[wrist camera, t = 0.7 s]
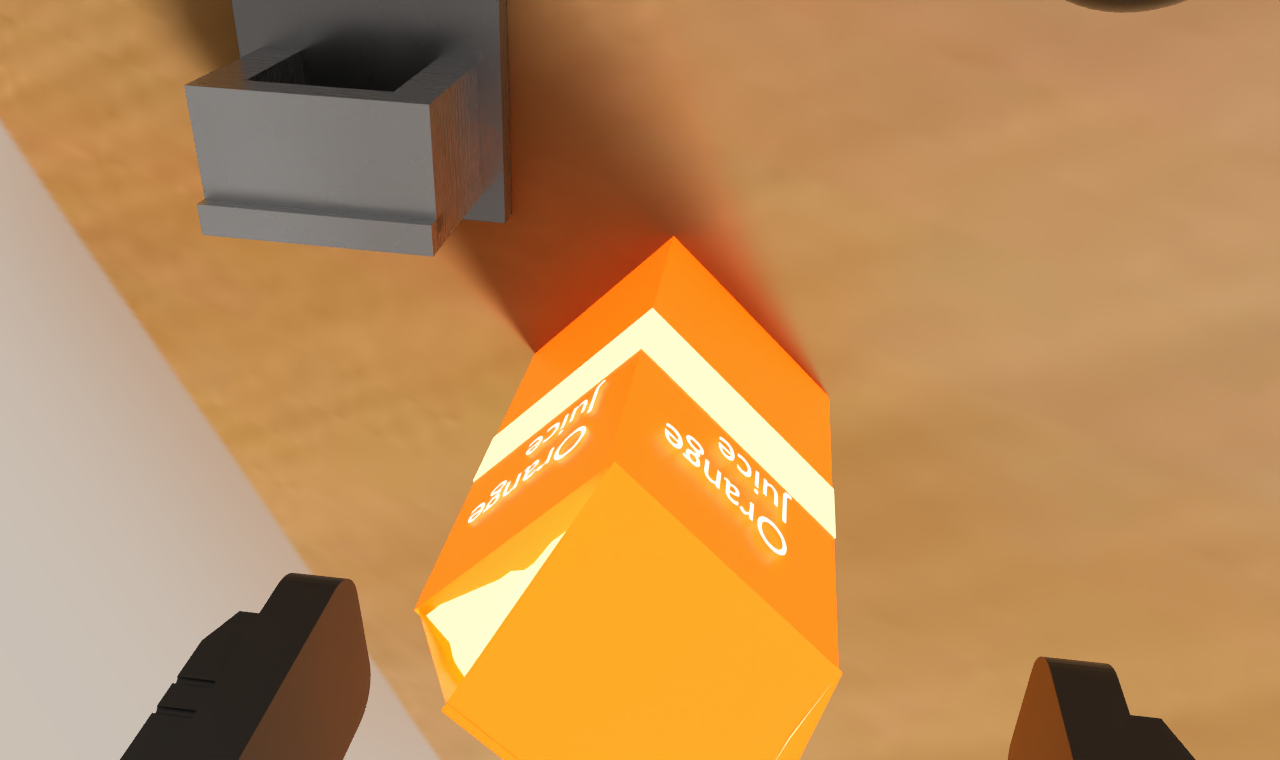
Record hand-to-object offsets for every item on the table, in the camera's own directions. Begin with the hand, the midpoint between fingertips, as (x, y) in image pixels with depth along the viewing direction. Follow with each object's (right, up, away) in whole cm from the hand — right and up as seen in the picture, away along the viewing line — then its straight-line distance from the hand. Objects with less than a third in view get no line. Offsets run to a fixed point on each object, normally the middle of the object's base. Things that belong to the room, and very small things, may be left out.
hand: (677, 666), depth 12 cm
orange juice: (+1, +4, +28) cm, 28 cm away
